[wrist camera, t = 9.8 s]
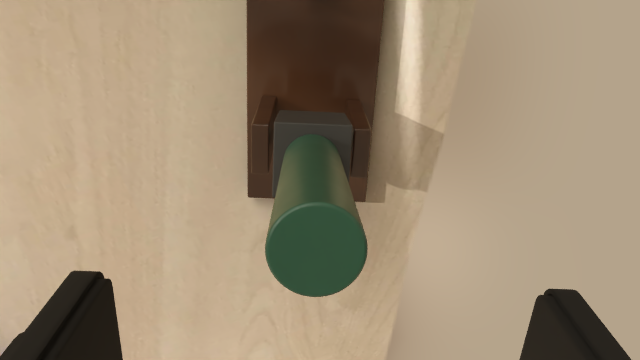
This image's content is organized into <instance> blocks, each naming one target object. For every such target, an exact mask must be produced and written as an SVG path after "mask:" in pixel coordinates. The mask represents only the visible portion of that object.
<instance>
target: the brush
mask: <svg viewBox="0 0 640 360" xmlns="http://www.w3.org/2000/svg"><path fill="white" fill-rule="evenodd" d="M352 129H353V126H352V124H351V123H350V121H349V119H348V118H347V116H346V115H345V113H335V112H313V111H290V110H280V111H279V113H278V115H277V117H276V120H275V122H274V134H273V180H272V197H274V198H275V201H274V205H273V210H272V215H271V219H270V224H269V229H268V234H267V238H266V244H265V255H266V260H267V263H268V266H269V268H270V270H271V272H272V274H273V275H274V277H275V278H276V279H277V280H278V281H279V282H280V283H281V284H282V285H283V286H284V287H286V288H287V289H289V290H291V291H293V292H295V293H297V294H300V295H304V296H310V297H322V296H328V295H332V294H334V293H337V292H339V291H341V290H343V289H345V288H346V287H347V286H349V285H350V284H351V283H352V282H353V281H354V280H355V279H356V278H357V277H358V275H359V274H360V272H361V271H362V269H363V266H364V264H365V261H366V257H367V240H366V236H365V232H364V229H363V226H362V223H361V220H360V217H359V214H358V211H357V208H356V205H355V201H354V198H353V195H352V192H351V189H350V186H349V177H350V161H351V145H352Z"/></svg>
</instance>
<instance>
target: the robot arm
mask: <svg viewBox="0 0 640 360" xmlns="http://www.w3.org/2000/svg"><path fill="white" fill-rule="evenodd" d="M0 360H123V358H122V351H121V344H120V337H119V329H118V322H117V315H116V308H115V301H114V293H113V286H112V282H111V280H110V279H104V276H103V274H102V273H101V272H95V271H72V272H71V273H70V274H69V275H68V276H67V278H66V279H65V280H64V281H63V283H62V284H61V285H60V287H59V288H58V289H57V290H56V292H55V293H54V294H53V296H52V297H51V298H50V299H49V301H48V302H47V303H46V305H45V306H44V307H43V308H42V310H41V311H40V312H39V314H38V315H37V316H36V317H35V319H34V320H33V321H32V323H31V324H30V325H29V326H28V328H27V329H26V330H25V332H23V333H21V334H19V335H18V336H17V337H16V338H15V339H14V340H13V341H12V342H11V343H10V345H9V346H8V347H7V349H6V350H5V351H4V352H3V354H2V355H1V356H0ZM520 360H631V359H630V357H629V356H628V355H627V354H626V352H625V351H624V350H623V348H622V347H621V346H620V345H619V343H618V342H617V341H616V339H615V338H614V337H613V336H612V335H611V333H610V332H609V331H608V329H607V328H606V327H605V325H604V324H603V323H602V322H601V320H600V319H599V318H598V317H597V315H596V314H595V313H594V311H593V310H592V309H591V308H590V306H589V305H588V304H587V302H586V301H585V300H584V299H583V297H582V296H581V295H580V294H579V293H578V292H577V291H576V290H567V289H548V290H546V291H545V293H544V295H539V296H538V297H537V299H536V302H535V305H534V309H533V312H532V316H531V320H530V324H529V327H528V331H527V335H526V338H525V342H524V345H523V349H522V353H521V356H520Z"/></svg>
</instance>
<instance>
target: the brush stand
mask: <svg viewBox="0 0 640 360" xmlns="http://www.w3.org/2000/svg"><path fill="white" fill-rule="evenodd" d="M383 9H384V0H247V145H248V197H254V198H274V197H272V180H273V134H274V122H275V120H276V117H277V115H278V113H279V111H280V110H290V111H313V112H335V113H345V115H346V116H347V118H348V119H349V121H350V123H351V124H352V126H353V129H352V145H351V161H350V177H349V186H350V189H351V192H352V195H353V198H354V201H360V202H365V199H366V188H367V178H368V167H369V157H370V146H371V136H372V125H373V115H374V104H375V94H376V83H377V73H378V62H379V51H380V41H381V30H382V20H383Z"/></svg>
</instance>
